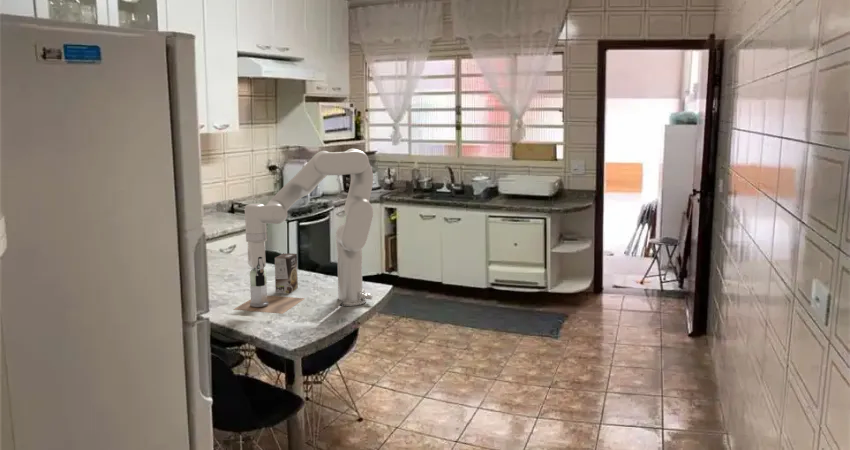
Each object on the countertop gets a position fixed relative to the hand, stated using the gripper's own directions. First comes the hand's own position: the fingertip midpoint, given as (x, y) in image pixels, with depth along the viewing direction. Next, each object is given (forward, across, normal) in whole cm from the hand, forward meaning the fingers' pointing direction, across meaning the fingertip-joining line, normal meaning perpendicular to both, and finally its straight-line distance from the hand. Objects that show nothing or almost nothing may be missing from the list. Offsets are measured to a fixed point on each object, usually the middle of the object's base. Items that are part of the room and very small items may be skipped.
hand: (258, 283), depth 261 cm
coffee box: (+10, -16, +15) cm, 24 cm away
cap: (+1, 0, 0) cm, 1 cm away
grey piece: (+9, 0, 0) cm, 9 cm away
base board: (+10, 0, +4) cm, 11 cm away
